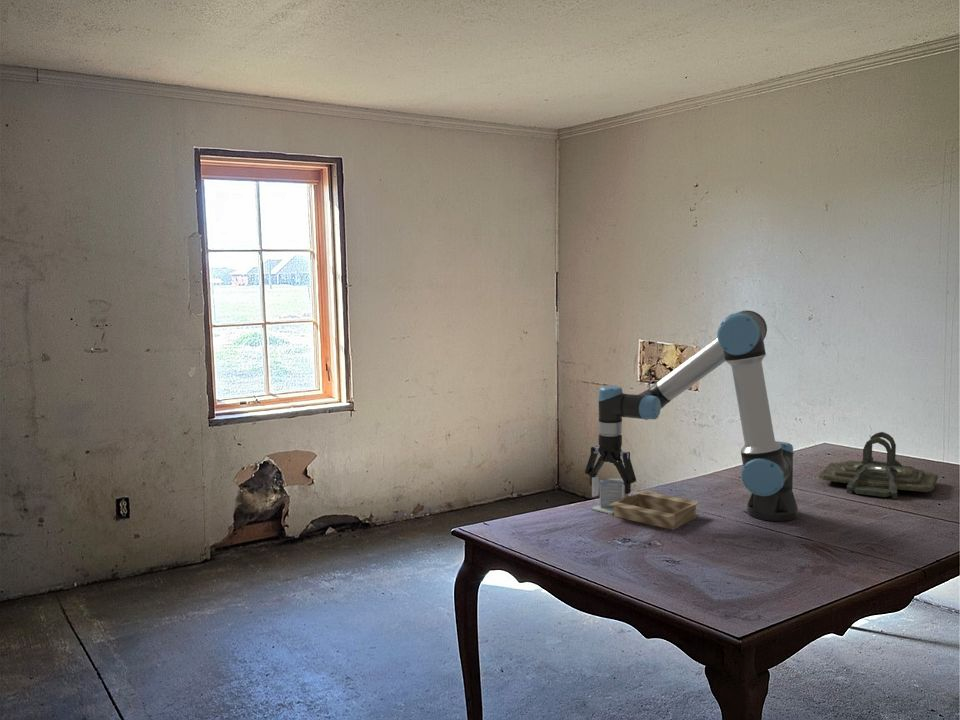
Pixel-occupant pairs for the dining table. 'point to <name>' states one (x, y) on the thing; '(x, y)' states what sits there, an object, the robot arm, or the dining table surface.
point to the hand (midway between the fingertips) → (610, 499)
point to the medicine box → (610, 491)
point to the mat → (604, 509)
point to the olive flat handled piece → (879, 473)
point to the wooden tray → (656, 509)
